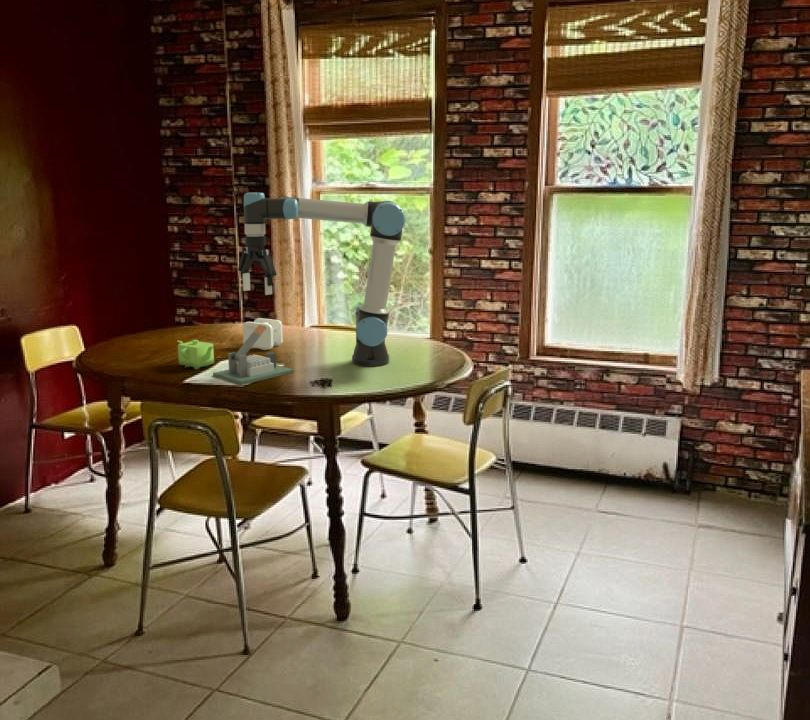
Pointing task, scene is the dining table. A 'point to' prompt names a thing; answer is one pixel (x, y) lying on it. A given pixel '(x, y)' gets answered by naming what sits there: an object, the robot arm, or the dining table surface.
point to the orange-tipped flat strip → (249, 342)
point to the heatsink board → (253, 378)
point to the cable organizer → (264, 333)
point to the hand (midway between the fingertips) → (257, 292)
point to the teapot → (195, 354)
